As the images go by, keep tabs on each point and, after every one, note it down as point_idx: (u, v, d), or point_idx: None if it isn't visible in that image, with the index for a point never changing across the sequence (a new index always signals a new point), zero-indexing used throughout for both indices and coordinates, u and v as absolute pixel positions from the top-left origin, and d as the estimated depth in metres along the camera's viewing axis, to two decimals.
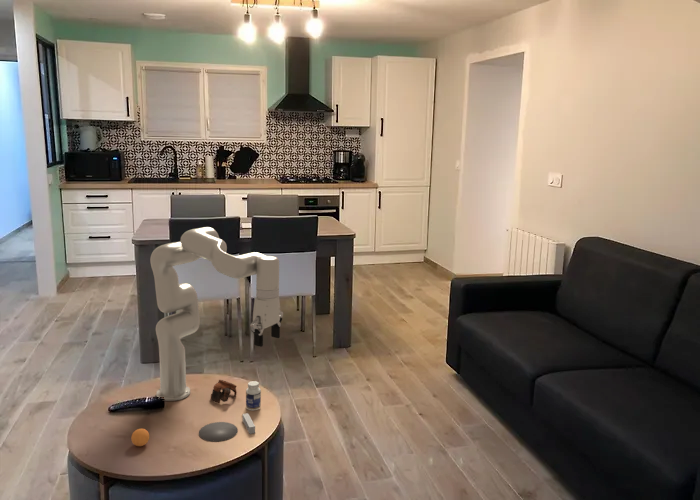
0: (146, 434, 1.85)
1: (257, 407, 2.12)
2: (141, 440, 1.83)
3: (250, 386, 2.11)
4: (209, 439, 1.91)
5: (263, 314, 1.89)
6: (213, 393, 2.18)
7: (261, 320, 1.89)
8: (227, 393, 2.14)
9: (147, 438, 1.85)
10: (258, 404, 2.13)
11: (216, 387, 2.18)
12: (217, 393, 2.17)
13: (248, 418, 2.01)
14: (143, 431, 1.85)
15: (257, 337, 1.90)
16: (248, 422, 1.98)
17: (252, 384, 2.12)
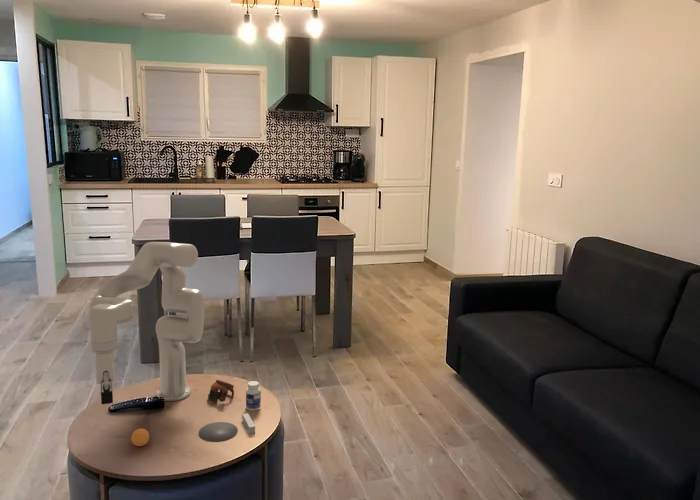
0: (146, 434, 1.85)
1: (257, 407, 2.12)
2: (141, 440, 1.83)
3: (250, 386, 2.11)
4: (209, 439, 1.91)
5: (111, 367, 1.73)
6: (210, 393, 2.18)
7: (110, 374, 1.73)
8: (225, 393, 2.14)
9: (147, 438, 1.85)
10: (258, 404, 2.13)
11: (213, 387, 2.18)
12: (214, 394, 2.17)
13: (248, 418, 2.01)
14: (143, 431, 1.85)
15: (107, 394, 1.73)
16: (248, 422, 1.98)
17: (252, 384, 2.12)
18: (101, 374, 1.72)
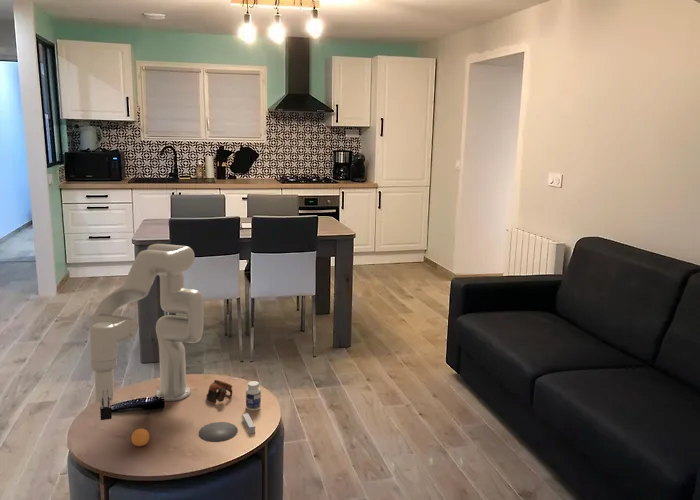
0: (146, 434, 1.85)
1: (257, 407, 2.12)
2: (141, 440, 1.83)
3: (250, 386, 2.11)
4: (209, 439, 1.91)
5: (111, 386, 1.74)
6: (209, 393, 2.18)
7: (109, 393, 1.74)
8: (223, 393, 2.14)
9: (147, 438, 1.85)
10: (258, 404, 2.13)
11: (212, 387, 2.18)
12: (213, 394, 2.17)
13: (248, 418, 2.01)
14: (143, 431, 1.85)
15: (106, 410, 1.78)
16: (248, 422, 1.98)
17: (252, 384, 2.12)
18: (101, 392, 1.73)
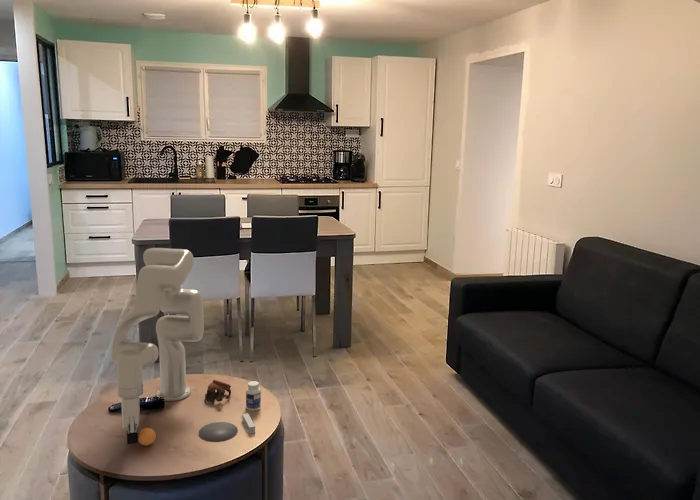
0: (154, 436, 1.86)
1: (257, 407, 2.12)
2: (148, 440, 1.84)
3: (250, 386, 2.11)
4: (209, 439, 1.91)
5: (137, 412, 1.79)
6: (207, 393, 2.18)
7: (136, 419, 1.79)
8: (222, 393, 2.14)
9: (153, 440, 1.86)
10: (258, 404, 2.13)
11: (210, 387, 2.18)
12: (211, 394, 2.17)
13: (248, 418, 2.01)
14: (153, 432, 1.86)
15: (133, 435, 1.83)
16: (248, 422, 1.98)
17: (252, 384, 2.12)
18: (127, 419, 1.78)
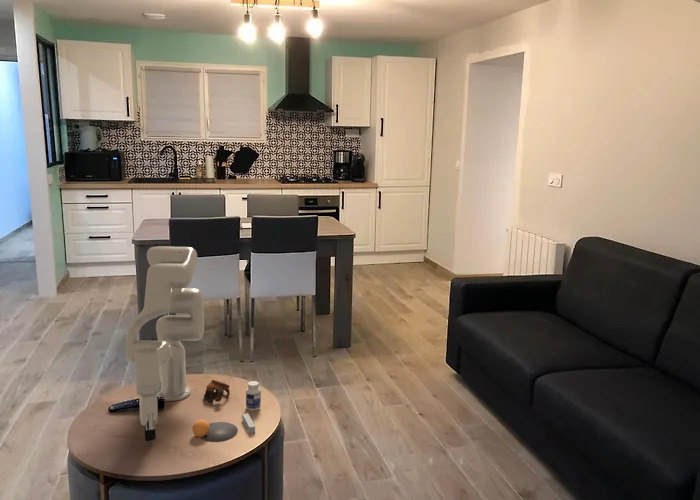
0: (208, 427, 1.92)
1: (257, 407, 2.12)
2: (203, 431, 1.90)
3: (250, 386, 2.11)
4: (209, 439, 1.91)
5: (156, 409, 1.81)
6: (206, 393, 2.17)
7: (154, 416, 1.81)
8: (220, 393, 2.14)
9: None
10: (258, 404, 2.13)
11: (209, 387, 2.18)
12: (210, 394, 2.16)
13: (248, 418, 2.01)
14: (206, 423, 1.92)
15: (151, 432, 1.85)
16: (248, 422, 1.98)
17: (252, 384, 2.12)
18: (146, 416, 1.80)
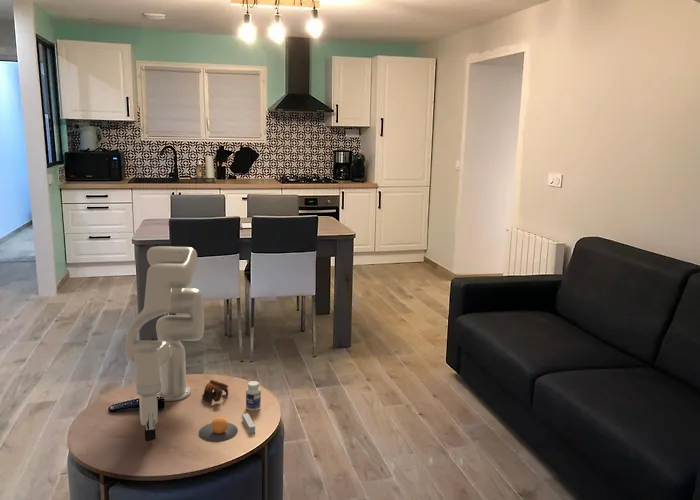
0: (217, 433, 1.94)
1: (257, 407, 2.12)
2: (220, 430, 1.93)
3: (250, 386, 2.11)
4: (209, 439, 1.91)
5: (156, 409, 1.81)
6: (205, 393, 2.17)
7: (154, 416, 1.81)
8: (219, 393, 2.14)
9: (214, 431, 1.93)
10: (258, 404, 2.13)
11: (208, 387, 2.18)
12: (209, 394, 2.16)
13: (248, 418, 2.01)
14: None
15: (151, 432, 1.85)
16: (248, 422, 1.98)
17: (252, 384, 2.12)
18: (146, 416, 1.80)
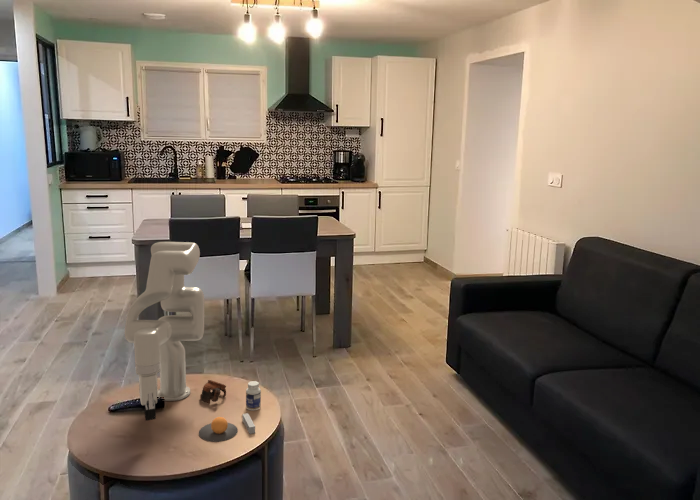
0: (217, 433, 1.94)
1: (257, 407, 2.12)
2: (220, 430, 1.93)
3: (250, 386, 2.11)
4: (209, 439, 1.91)
5: (156, 389, 1.80)
6: (203, 393, 2.17)
7: (154, 396, 1.80)
8: (217, 393, 2.14)
9: (214, 431, 1.93)
10: (258, 404, 2.13)
11: (206, 387, 2.17)
12: (207, 394, 2.16)
13: (248, 418, 2.01)
14: None
15: (151, 411, 1.85)
16: (248, 422, 1.98)
17: (252, 384, 2.12)
18: (146, 396, 1.79)
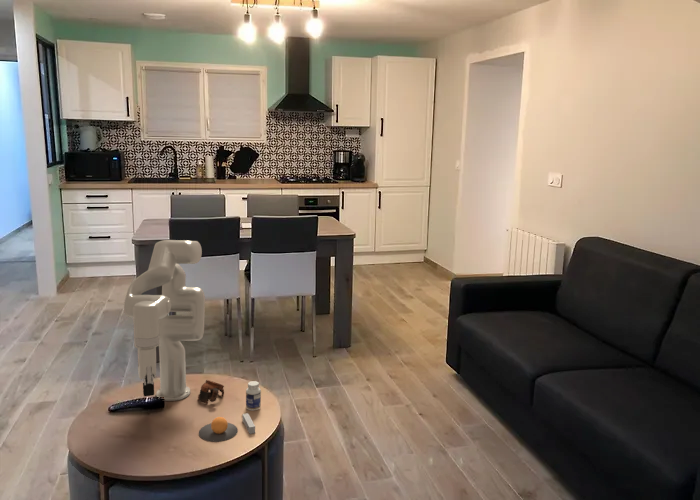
0: (217, 433, 1.94)
1: (257, 407, 2.12)
2: (220, 430, 1.93)
3: (250, 386, 2.11)
4: (209, 439, 1.91)
5: (154, 363, 1.78)
6: (201, 394, 2.17)
7: (153, 370, 1.78)
8: (215, 393, 2.14)
9: (214, 431, 1.93)
10: (258, 404, 2.13)
11: (204, 387, 2.17)
12: (205, 394, 2.16)
13: (248, 418, 2.01)
14: None
15: (149, 387, 1.82)
16: (248, 422, 1.98)
17: (252, 384, 2.12)
18: (144, 369, 1.77)
